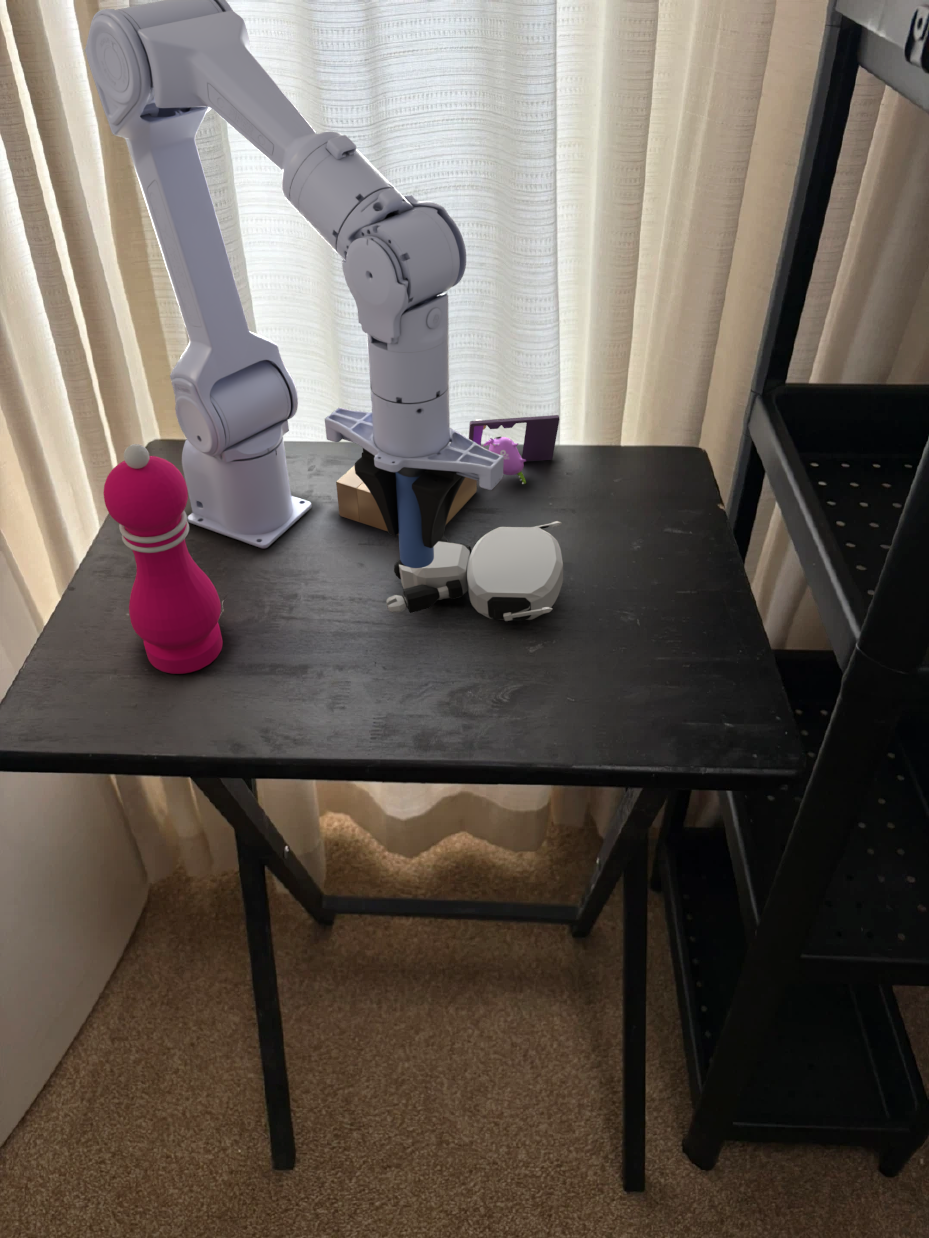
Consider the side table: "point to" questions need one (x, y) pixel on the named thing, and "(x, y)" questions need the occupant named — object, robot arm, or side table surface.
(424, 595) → the robot toy
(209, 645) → the pepper mill
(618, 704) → the side table surface
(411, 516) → the blue domed cylinder
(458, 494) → the holder
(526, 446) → the purple toy with frame
